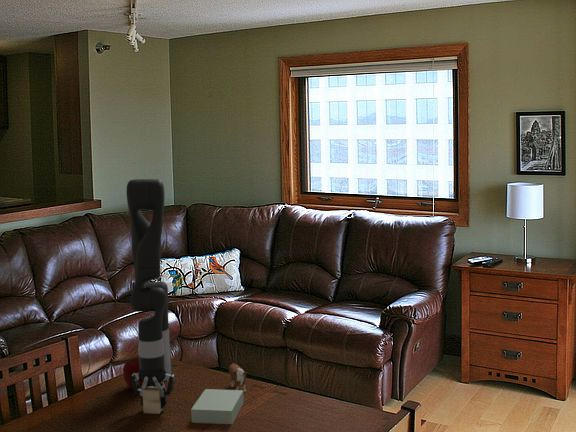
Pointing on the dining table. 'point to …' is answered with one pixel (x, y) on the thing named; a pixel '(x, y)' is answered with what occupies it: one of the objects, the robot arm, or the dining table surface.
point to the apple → (131, 371)
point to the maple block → (152, 400)
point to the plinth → (217, 406)
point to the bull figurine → (237, 376)
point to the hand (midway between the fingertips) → (154, 407)
